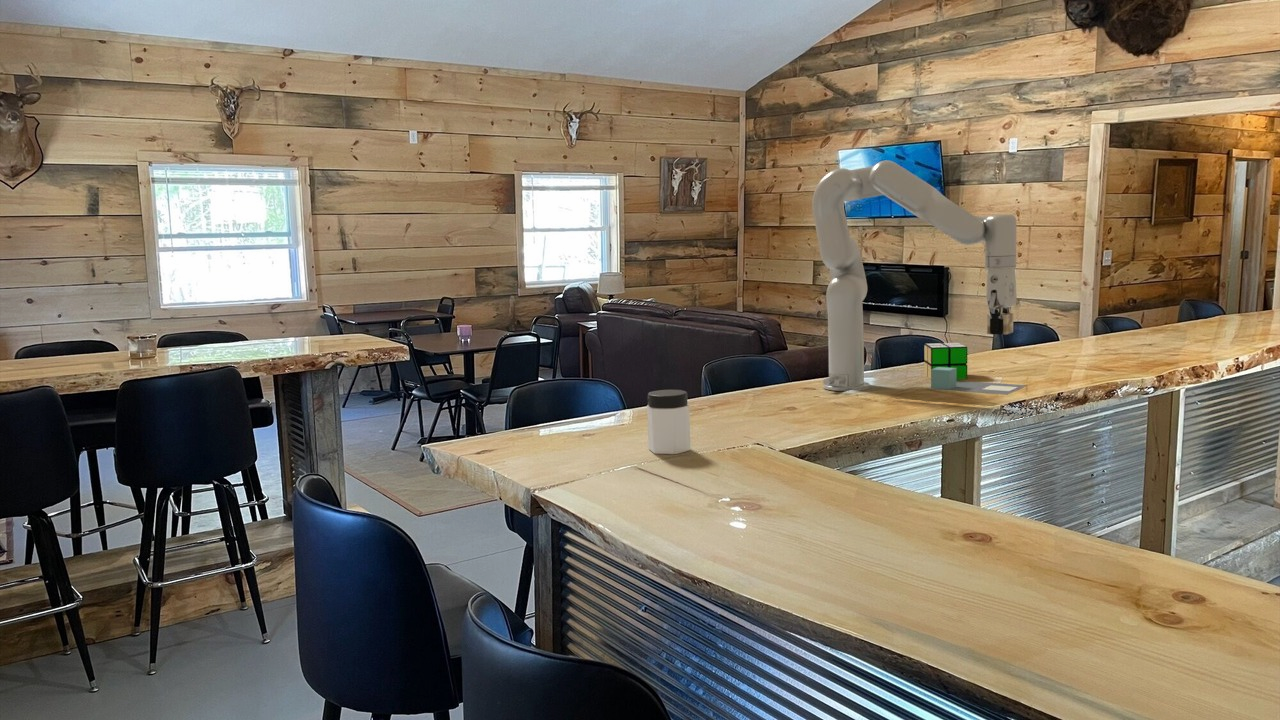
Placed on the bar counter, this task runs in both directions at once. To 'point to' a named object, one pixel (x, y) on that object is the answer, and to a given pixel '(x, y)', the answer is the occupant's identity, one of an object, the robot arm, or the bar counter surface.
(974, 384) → the slate board
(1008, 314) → the maple block
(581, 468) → the bar counter surface
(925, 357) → the puzzle cube
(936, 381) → the teal block
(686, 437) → the jar
